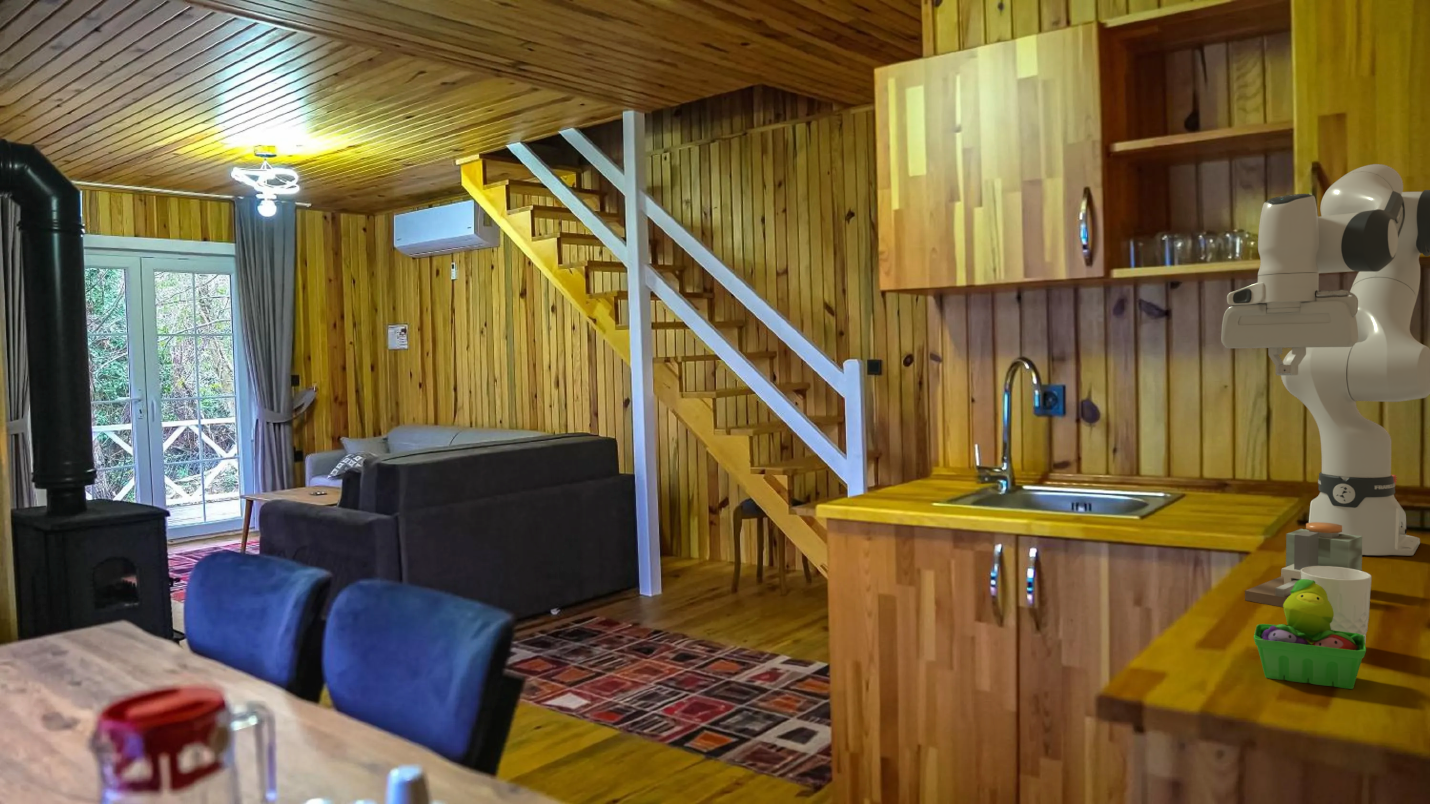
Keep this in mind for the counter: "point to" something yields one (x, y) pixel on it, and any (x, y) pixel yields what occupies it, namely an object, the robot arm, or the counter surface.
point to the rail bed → (1330, 553)
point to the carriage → (1302, 555)
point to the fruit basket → (1309, 642)
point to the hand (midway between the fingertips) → (1286, 375)
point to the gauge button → (1324, 529)
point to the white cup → (1344, 595)
